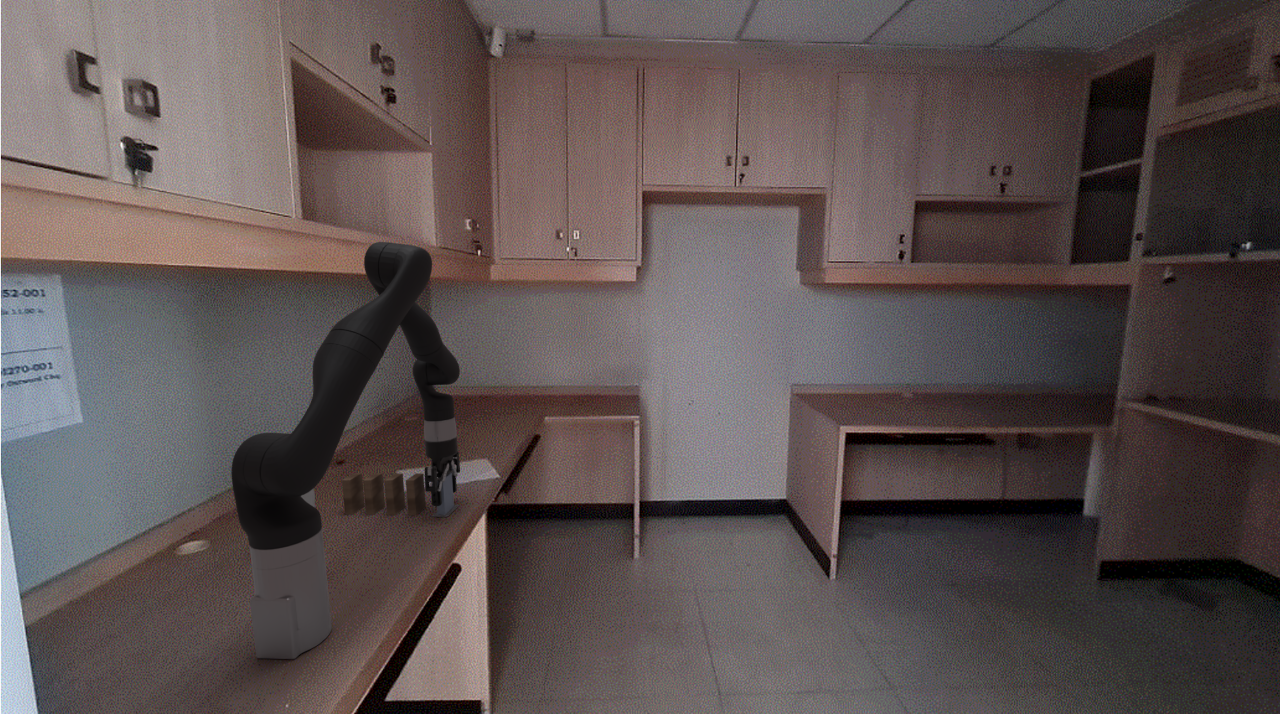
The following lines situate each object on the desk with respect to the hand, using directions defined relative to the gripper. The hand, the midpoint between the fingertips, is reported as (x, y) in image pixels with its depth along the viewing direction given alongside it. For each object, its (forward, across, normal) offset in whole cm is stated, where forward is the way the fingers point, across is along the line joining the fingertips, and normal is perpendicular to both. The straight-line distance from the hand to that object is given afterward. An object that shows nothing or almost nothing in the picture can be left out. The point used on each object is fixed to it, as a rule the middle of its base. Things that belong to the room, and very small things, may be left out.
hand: (445, 498), depth 126 cm
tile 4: (+3, 0, +18) cm, 19 cm away
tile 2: (+3, 0, +8) cm, 8 cm away
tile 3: (+3, 0, +13) cm, 13 cm away
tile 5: (+3, 0, +24) cm, 24 cm away
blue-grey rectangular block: (+3, 0, 0) cm, 3 cm away
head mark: (+3, 0, 0) cm, 3 cm away
